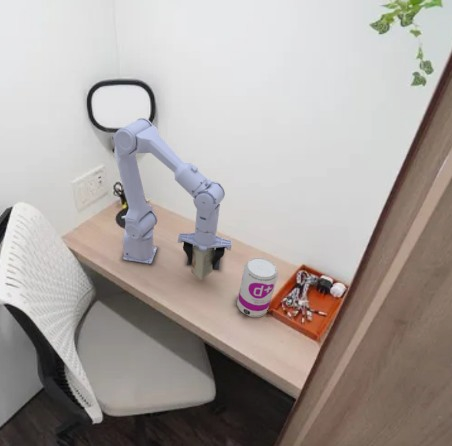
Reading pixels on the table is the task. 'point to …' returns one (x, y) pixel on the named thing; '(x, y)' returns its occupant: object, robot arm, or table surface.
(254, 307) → the supplement can
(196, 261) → the product carton box
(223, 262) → the table surface
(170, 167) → the robot arm
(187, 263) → the pad
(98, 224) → the table surface
